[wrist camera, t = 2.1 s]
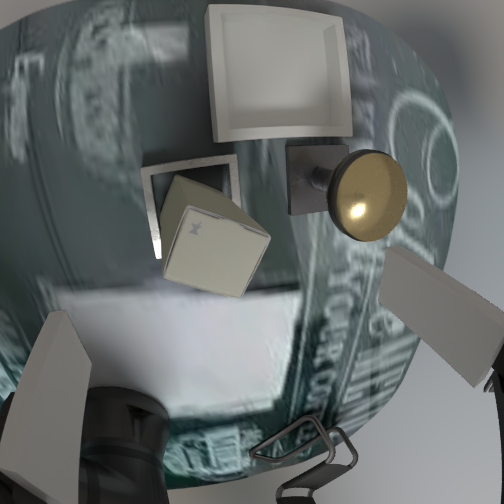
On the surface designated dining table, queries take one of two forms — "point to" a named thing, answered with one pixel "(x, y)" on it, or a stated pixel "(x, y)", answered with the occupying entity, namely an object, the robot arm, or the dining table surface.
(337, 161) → the mounted dome knob
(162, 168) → the pin seat
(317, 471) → the chair
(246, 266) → the box
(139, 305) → the dining table surface
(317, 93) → the tray
